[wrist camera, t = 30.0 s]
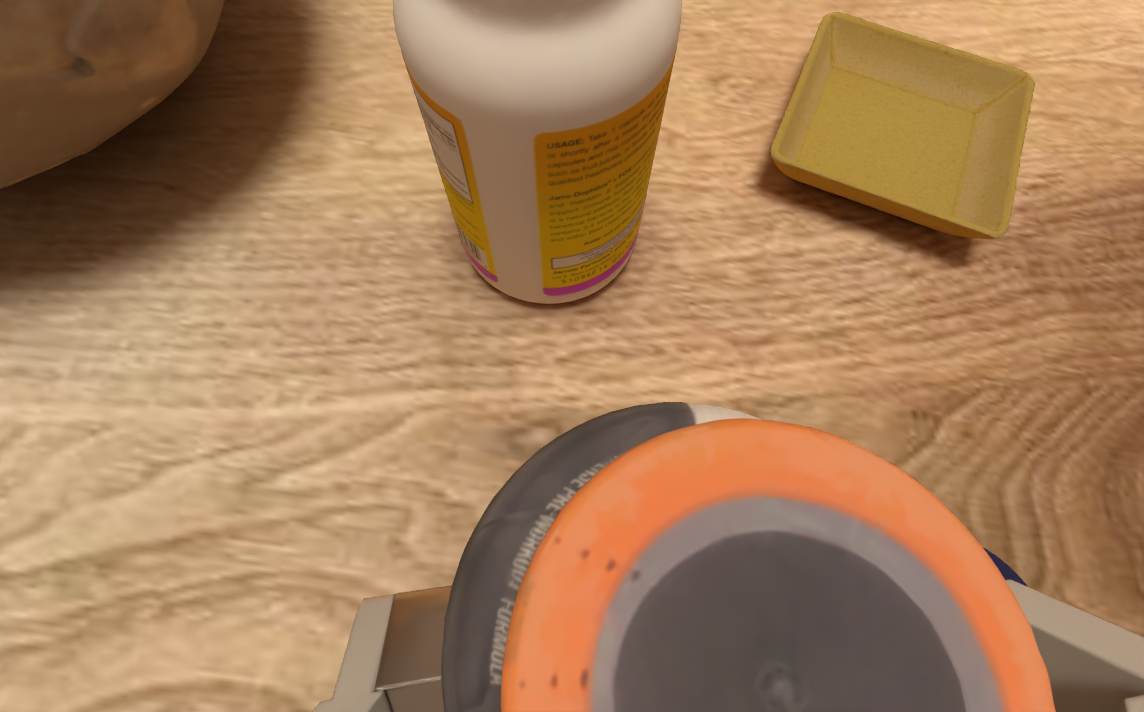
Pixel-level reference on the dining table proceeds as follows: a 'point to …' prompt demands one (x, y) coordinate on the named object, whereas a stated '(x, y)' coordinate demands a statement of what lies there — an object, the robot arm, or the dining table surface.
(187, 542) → the dining table surface
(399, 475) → the dining table surface
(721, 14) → the dining table surface
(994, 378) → the dining table surface
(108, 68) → the pot
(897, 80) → the yellow square tray
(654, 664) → the pill bottle
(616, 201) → the supplement bottle
